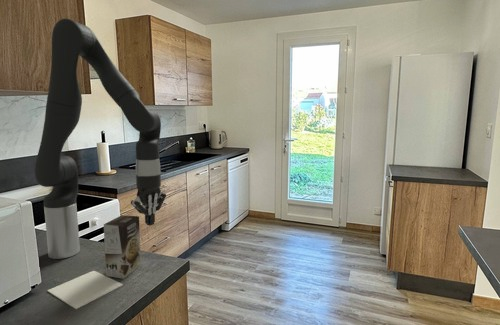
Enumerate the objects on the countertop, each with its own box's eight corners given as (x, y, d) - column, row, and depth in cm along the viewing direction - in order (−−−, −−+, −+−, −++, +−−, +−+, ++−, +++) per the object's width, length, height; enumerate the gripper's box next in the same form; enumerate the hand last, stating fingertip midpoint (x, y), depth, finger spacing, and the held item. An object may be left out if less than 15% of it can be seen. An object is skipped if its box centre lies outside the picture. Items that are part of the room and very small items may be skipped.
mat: (47, 291, 83) (47, 290, 83) (94, 271, 94) (94, 270, 94) (76, 309, 76) (76, 308, 76) (122, 285, 87) (122, 284, 87)
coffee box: (125, 279, 90) (122, 225, 87) (105, 276, 91) (102, 224, 89) (142, 264, 99) (140, 215, 96) (123, 262, 100) (121, 214, 98)
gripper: (156, 168, 107) (158, 217, 109) (122, 174, 96) (125, 228, 98) (172, 171, 103) (173, 221, 105) (138, 177, 92) (141, 233, 94)
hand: (150, 224), depth 102 cm, fingers closed
